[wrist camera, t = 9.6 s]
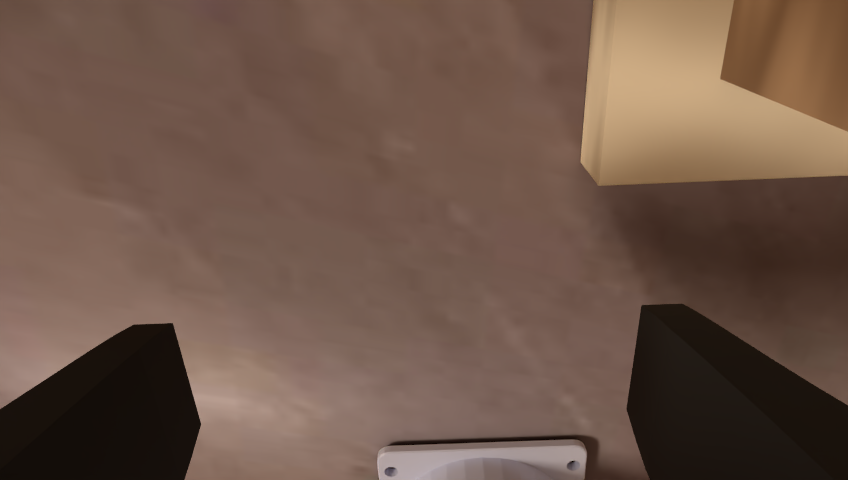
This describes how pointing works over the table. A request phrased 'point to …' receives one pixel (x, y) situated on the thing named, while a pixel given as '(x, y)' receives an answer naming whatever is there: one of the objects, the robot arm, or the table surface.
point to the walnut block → (792, 54)
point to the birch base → (687, 104)
